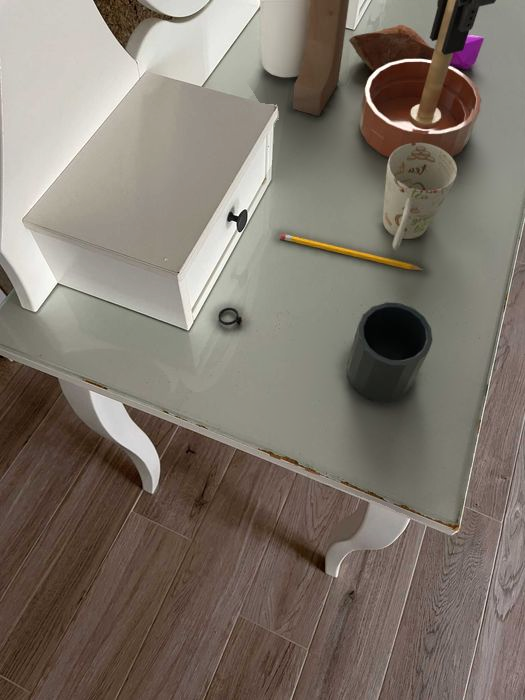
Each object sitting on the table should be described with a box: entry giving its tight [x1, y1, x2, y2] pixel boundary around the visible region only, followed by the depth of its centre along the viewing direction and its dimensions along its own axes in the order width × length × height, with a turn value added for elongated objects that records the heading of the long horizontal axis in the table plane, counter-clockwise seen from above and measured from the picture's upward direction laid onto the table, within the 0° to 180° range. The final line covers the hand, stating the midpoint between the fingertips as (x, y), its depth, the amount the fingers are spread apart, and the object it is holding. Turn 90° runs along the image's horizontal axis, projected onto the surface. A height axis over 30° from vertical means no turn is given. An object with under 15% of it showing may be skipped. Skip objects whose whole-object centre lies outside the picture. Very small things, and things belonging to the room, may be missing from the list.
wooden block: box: [292, 0, 350, 117], centre depth 84 cm, size 9×4×18 cm, turn 157°
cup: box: [259, 0, 310, 78], centre depth 89 cm, size 8×8×14 cm
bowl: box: [358, 59, 482, 159], centre depth 86 cm, size 16×16×6 cm
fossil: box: [348, 24, 435, 73], centre depth 92 cm, size 13×8×10 cm
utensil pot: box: [346, 301, 433, 403], centre depth 64 cm, size 8×8×9 cm
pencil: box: [279, 233, 424, 271], centre depth 77 cm, size 1×19×1 cm, turn 73°
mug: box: [382, 143, 458, 251], centre depth 74 cm, size 8×13×10 cm, turn 162°
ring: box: [217, 307, 243, 326], centre depth 71 cm, size 2×1×3 cm
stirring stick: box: [409, 0, 456, 129], centre depth 76 cm, size 4×4×21 cm
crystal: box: [449, 33, 485, 70], centre depth 94 cm, size 5×5×5 cm
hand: (446, 43), depth 75 cm, fingers closed on stirring stick, 2 cm apart
